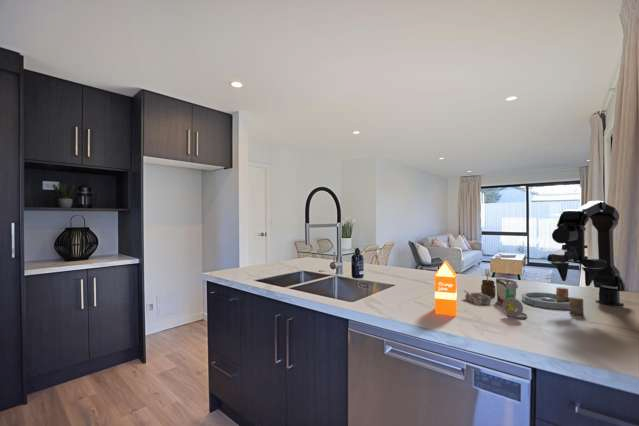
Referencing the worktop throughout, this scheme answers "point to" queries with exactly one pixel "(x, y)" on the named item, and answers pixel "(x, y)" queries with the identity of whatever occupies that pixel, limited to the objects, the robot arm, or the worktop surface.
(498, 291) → the food container
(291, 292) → the worktop surface
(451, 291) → the orange juice
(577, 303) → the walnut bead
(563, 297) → the brown cork stopper
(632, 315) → the worktop surface
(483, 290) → the utensil holder
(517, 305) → the pocket watch
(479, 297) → the egg carton
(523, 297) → the groove tray
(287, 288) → the worktop surface
